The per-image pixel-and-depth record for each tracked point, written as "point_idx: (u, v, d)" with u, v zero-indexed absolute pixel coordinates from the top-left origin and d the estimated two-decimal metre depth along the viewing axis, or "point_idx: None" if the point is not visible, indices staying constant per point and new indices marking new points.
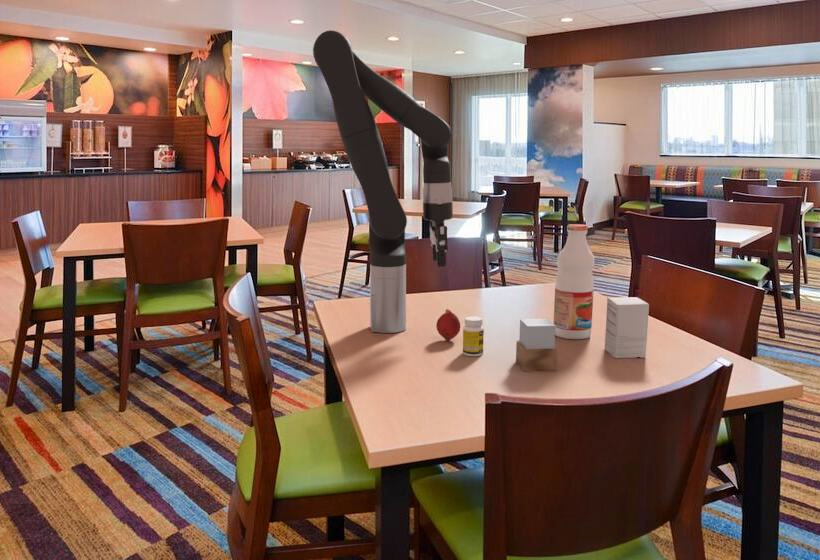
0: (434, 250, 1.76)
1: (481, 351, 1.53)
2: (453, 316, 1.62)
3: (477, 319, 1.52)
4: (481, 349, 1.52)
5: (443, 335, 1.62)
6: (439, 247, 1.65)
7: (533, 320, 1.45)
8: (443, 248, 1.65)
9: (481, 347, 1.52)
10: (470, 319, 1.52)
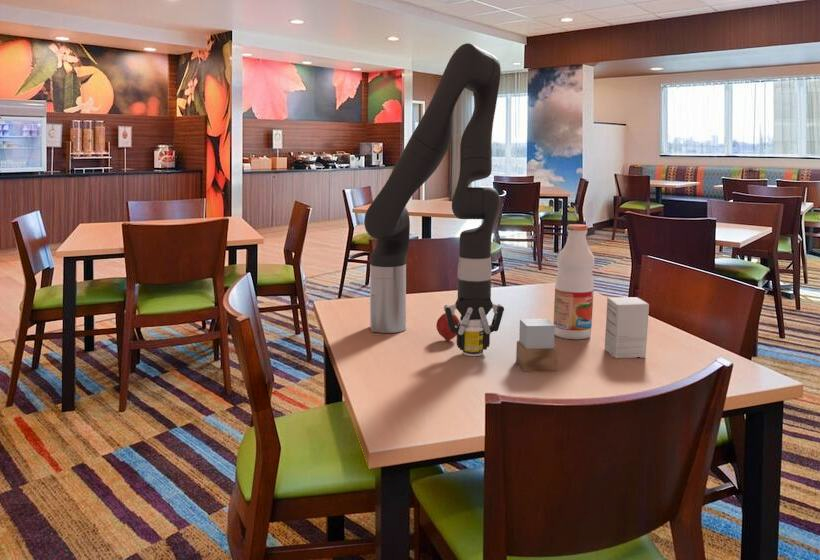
0: None
1: (481, 351, 1.53)
2: (453, 316, 1.62)
3: (477, 319, 1.52)
4: (481, 349, 1.52)
5: (443, 335, 1.62)
6: None
7: (533, 320, 1.45)
8: None
9: (481, 347, 1.52)
10: None
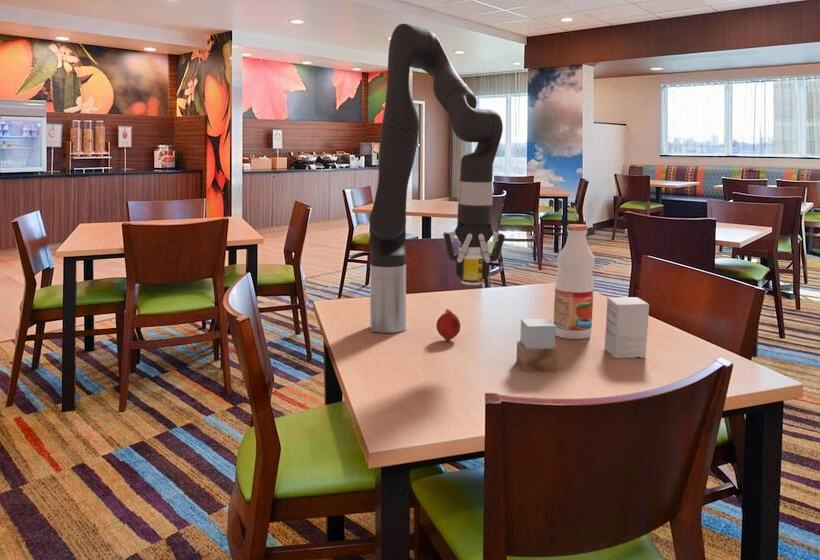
0: None
1: (480, 280, 1.49)
2: (453, 316, 1.62)
3: (477, 247, 1.48)
4: (480, 278, 1.49)
5: (443, 335, 1.62)
6: None
7: (534, 320, 1.45)
8: None
9: (480, 276, 1.49)
10: (469, 247, 1.48)
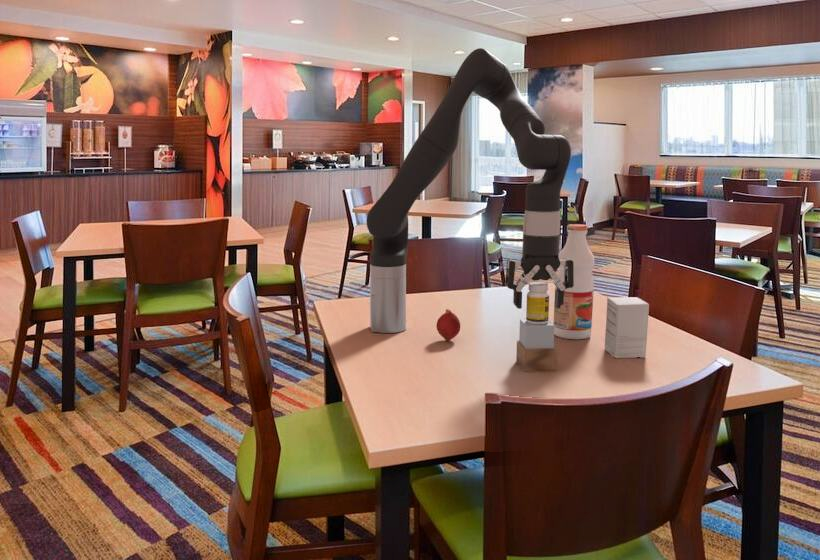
0: None
1: (547, 319, 1.42)
2: (453, 316, 1.62)
3: (542, 284, 1.41)
4: (547, 316, 1.42)
5: (443, 335, 1.62)
6: None
7: None
8: None
9: (547, 314, 1.42)
10: (535, 284, 1.41)
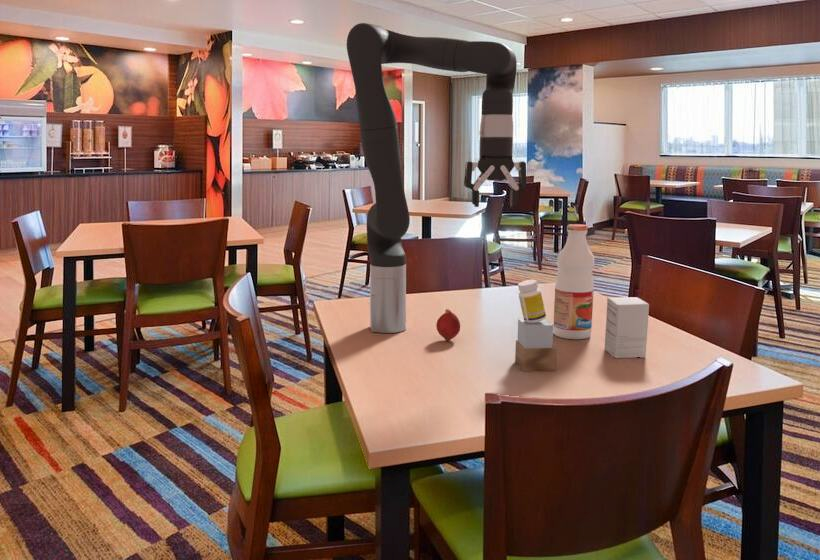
0: None
1: None
2: (453, 316, 1.62)
3: (532, 281, 1.42)
4: None
5: (443, 335, 1.62)
6: None
7: None
8: None
9: None
10: (528, 283, 1.41)
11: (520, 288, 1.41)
